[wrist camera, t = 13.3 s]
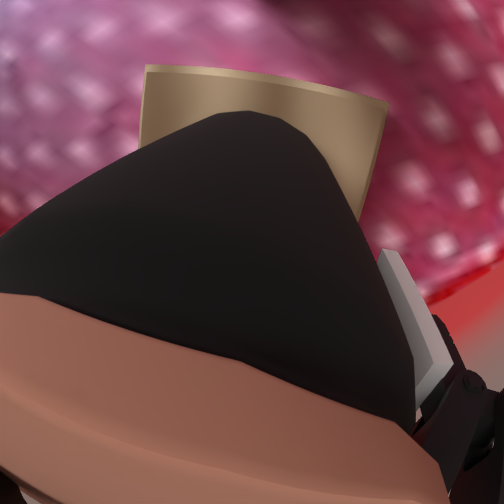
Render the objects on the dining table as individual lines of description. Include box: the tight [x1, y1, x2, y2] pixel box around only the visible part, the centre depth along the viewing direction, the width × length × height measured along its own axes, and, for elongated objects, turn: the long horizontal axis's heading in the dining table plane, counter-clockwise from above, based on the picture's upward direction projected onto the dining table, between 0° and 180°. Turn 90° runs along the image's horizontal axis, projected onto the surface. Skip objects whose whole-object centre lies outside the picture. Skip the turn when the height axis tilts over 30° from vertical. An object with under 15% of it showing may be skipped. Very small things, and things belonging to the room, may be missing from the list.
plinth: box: [138, 65, 389, 222], centre depth 21 cm, size 15×15×4 cm
